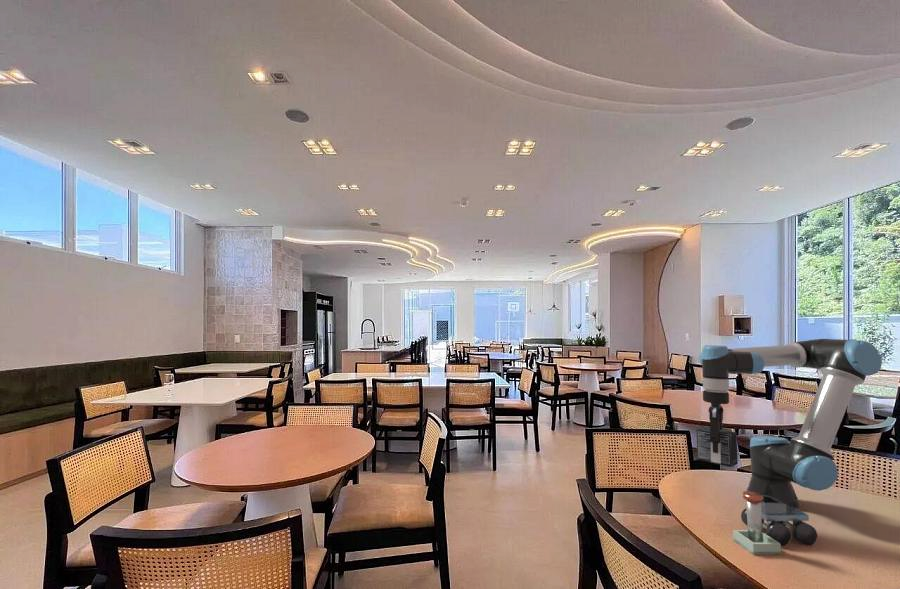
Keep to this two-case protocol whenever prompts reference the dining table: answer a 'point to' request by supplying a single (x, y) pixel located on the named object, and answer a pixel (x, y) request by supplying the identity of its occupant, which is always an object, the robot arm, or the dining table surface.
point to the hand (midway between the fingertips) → (717, 459)
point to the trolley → (784, 522)
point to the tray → (757, 544)
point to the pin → (754, 516)
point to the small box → (727, 446)
